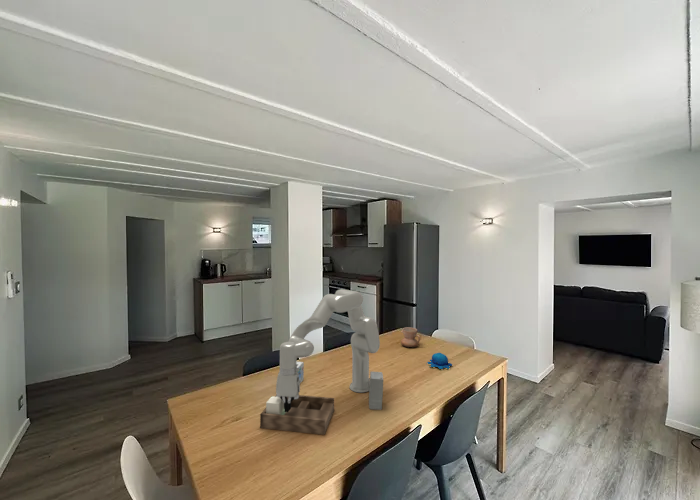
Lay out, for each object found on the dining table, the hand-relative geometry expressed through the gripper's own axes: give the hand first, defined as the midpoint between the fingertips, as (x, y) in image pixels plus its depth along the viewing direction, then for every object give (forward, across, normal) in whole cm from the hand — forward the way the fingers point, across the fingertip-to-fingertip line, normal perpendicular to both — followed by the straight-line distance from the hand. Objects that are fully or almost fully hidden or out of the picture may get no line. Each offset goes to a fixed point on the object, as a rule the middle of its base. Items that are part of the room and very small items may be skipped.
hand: (287, 410), depth 133 cm
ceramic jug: (+5, -62, -119) cm, 134 cm away
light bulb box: (+6, +10, -39) cm, 41 cm away
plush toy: (+5, -79, -81) cm, 113 cm away
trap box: (+5, -5, -4) cm, 8 cm away
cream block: (+2, +6, 0) cm, 6 cm away
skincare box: (+5, -39, -21) cm, 45 cm away
